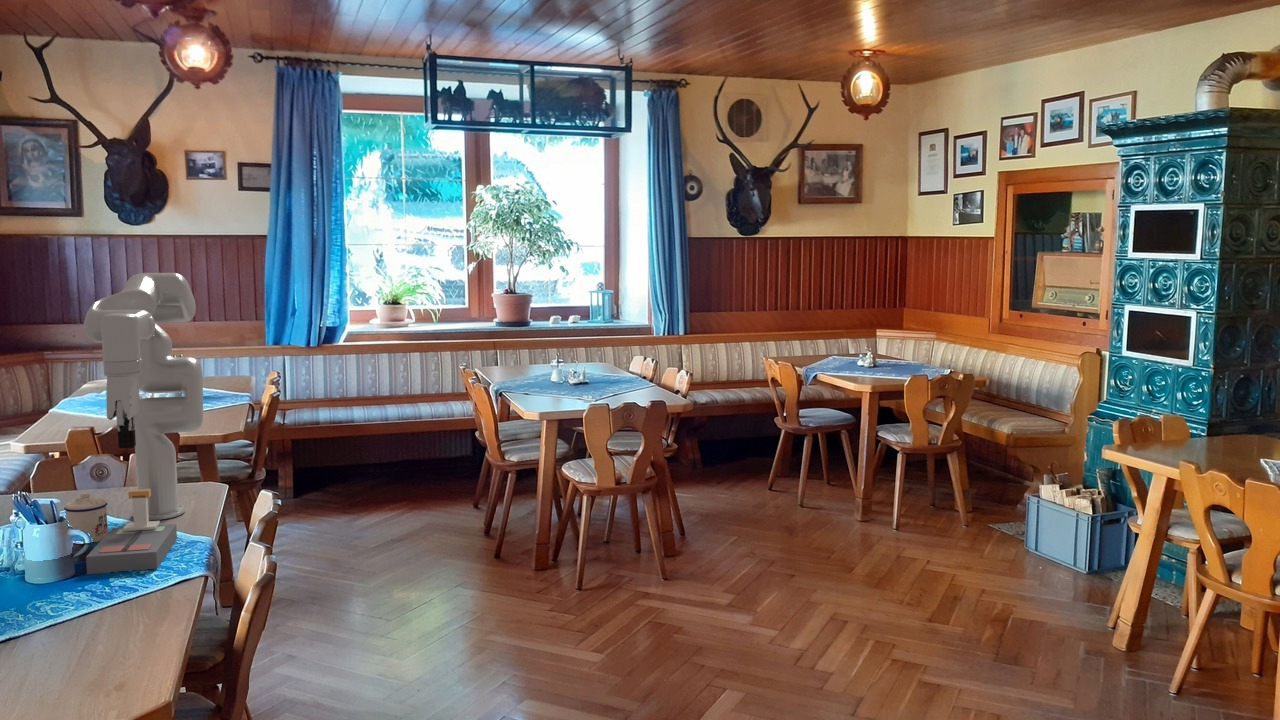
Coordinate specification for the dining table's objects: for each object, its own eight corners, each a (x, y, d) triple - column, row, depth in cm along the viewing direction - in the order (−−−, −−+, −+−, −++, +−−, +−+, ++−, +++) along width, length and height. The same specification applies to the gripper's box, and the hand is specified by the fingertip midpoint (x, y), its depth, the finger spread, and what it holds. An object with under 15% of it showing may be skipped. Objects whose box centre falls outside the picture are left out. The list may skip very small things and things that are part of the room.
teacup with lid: (104, 543, 229) (101, 496, 228) (61, 546, 227) (58, 499, 225) (116, 529, 241) (113, 484, 239) (75, 532, 238) (72, 486, 237)
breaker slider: (128, 525, 229) (126, 488, 228) (160, 523, 231) (158, 487, 230) (122, 531, 224) (120, 494, 223) (155, 529, 226) (153, 492, 225)
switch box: (113, 544, 229) (112, 527, 228) (177, 539, 233) (176, 523, 232) (87, 574, 208) (85, 556, 207) (157, 569, 212) (156, 551, 211)
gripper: (112, 363, 220) (117, 441, 223) (94, 373, 206) (100, 455, 208) (148, 363, 222) (152, 439, 225) (132, 372, 208) (137, 454, 210)
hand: (127, 447), depth 216 cm, fingers closed
